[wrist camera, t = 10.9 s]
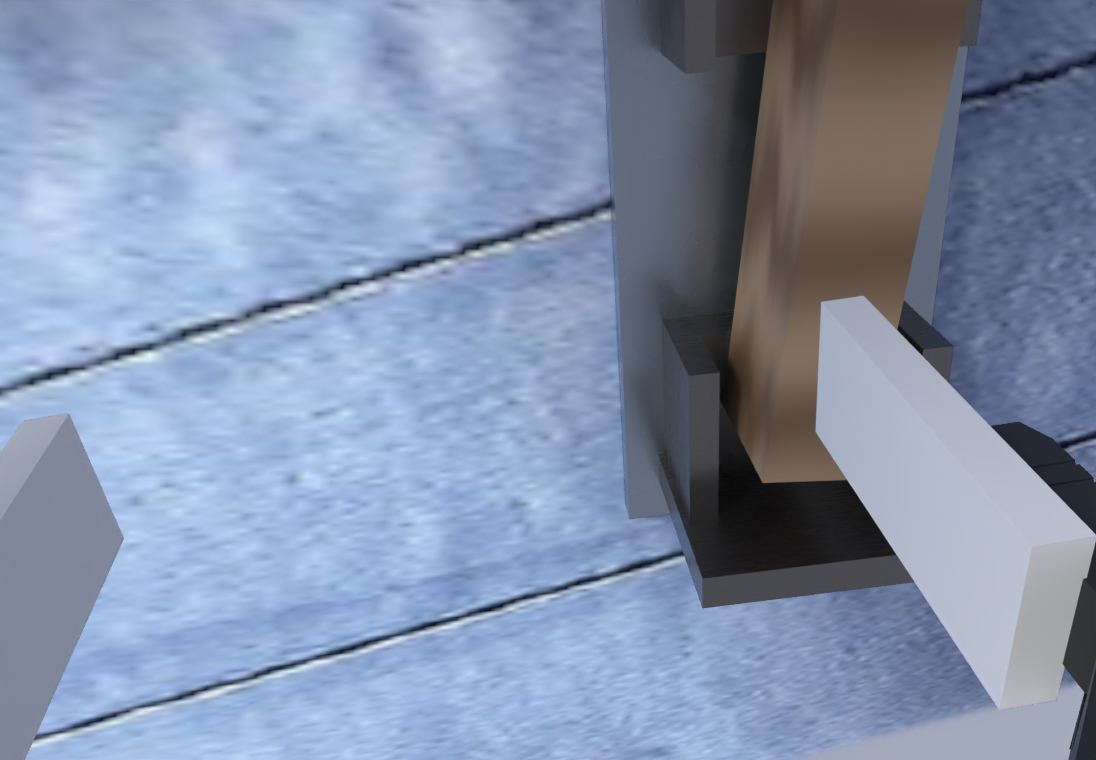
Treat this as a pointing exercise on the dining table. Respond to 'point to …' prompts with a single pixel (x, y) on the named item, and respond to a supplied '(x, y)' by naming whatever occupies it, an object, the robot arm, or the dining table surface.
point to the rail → (831, 201)
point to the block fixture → (725, 302)
